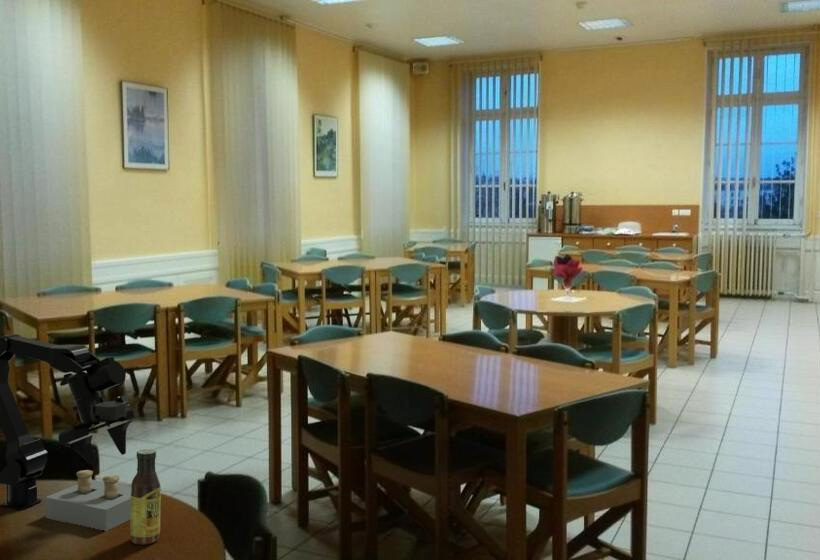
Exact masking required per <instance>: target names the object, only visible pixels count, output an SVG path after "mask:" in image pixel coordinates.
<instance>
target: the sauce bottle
mask: <svg viewBox="0 0 820 560" xmlns="http://www.w3.org/2000/svg"><path fill="white" fill-rule="evenodd" d="M156 459H157V451H156V450H155V449H152V448H146V449H140V450H138V451H136V460H137V466H136V467H137V468H136V471H137V472H136V474H135V476H134V477H133V479H132V481H131V486H130V487H131V511H130V520H129V521H130V523H129V524H130V525H129V535H130V541H131V543H133V544H135V545H140V546H144V545H150V544H153V543H156V542H157V541H158V540H159V538H160V533H161V503H162V502H161V499H162V498H161V495H162V494H161V491H162V486H161V483H160V480H159V477H158V474H157V471H156Z"/></svg>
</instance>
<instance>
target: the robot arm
mask: <svg viewBox="0 0 820 560" xmlns="http://www.w3.org/2000/svg"><path fill="white" fill-rule="evenodd" d="M16 355H17V356H20V357H24V358H30V359H33V360H35V361H36V360H37V361H41V362H44V363H47V364H48V365H49V366H50V367H51V368H52V369H54V370H57V371H59V372H60V373H64V374H63V378H62V379H61V381H60V383H59V386H60V387H64V386H67V385H68V388H69V390H70V392H71V393H70V394H71V396H72V398H73V401H74V404H75V406H72V410H73V412H76V411H77V412H78V415H79V418H80V421H81V423H78V425H75V426H73V427H70V428H68V429H65V430H63V431H61V432H59V433H58V436H57V438H58V442H59V444H60V446H62V445H65V444H66V445H65V447H66V448H68V447H69V448H70V449H72V450H73V451H74V452H75V453H77V455H79V456H80V457H82V459H84V461H86V462H87V463H88V464H89V466H91V467H92V468H96V467H98V461H97V458H96V454H95V453H94V449H93V445H92V440H93V435H90V433H91V432H93V431H97V430H99V429H102V428H104V427H108V428H107V429H106V431H107V433H108V435H109V437H110V438H111V440H112V441H113V443H114V445H115V447H116V448H117V450H118V452H119V453H120V454H121V455H122V456H124V455H126V453H127V430H128V427H129V425H130V424H131V423H133V421H132V419H133V418H135V414H134V411H133V409H131V405H130V401H129V399H128V396H127V395H121V396H117V397H116V399H115V400H112V401H109V400H108V398H107V396H105V395H102V394H101V393H100V392H104V391H107V390H110V389H111V388H114V387H116V386H119V385H122V384H123V383H124V382H125V381H126V377H127V375H126V374H127V373H126V369H125V368H124V367H123V365H122V364H121V363H120V362H118V361H116V360H115V358H114V356H113V355H112V356H111V355H110V356H108V357H105V358H103V359H100V358H99V357H97V356H96V355H95V354H93V353H92V352H90V350H89V348H88V347H87V346H86V345H84V344H55V343H50V342H47V341H42V340H38V339H34V338H29V337H25V336H22V335H20V334H18V333H12V334H7V335H5V334H4V335H2V336H0V428H1V431H2V433H3V435H4V438H5V440H6V443H7V445H6V450H5V451H6V452H5V461H6V466H5V467H4V468H3V469H2V470H1V471H0V484H2V485H6V501H5V502H2V503H0V504H1V506H2V507H6V508H10V509H15V510H24V509H27V508H29V507H30V506H33V505H36V504H39V503H41V502H42V499H41V498H38V485H37V478H36V477H39V476H42V475H43V471H44V468H45V467H46V465H47V462H48V456H47V454H48V451H47V450H46V449H45V446H44V443H43V442H44V441H43V440H42V439H41V438H37V439H35V438H33V437H32V436H31V435H30V434H29V431H28V429H27V427H26V424H25V422H24V419H23V416H22V414H21V411H20V409H19V407H18V405H17V401H16V399H15V396H14V394H13V391H12V389H11V386H10V384H9V376H10V375H9V374H10V369H11V368H10V364H9V362H10V361H12V359H14V358H15V356H16ZM109 427H110V428H109ZM68 443H69V444H68Z"/></svg>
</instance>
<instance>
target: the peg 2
mask: <svg viewBox="0 0 820 560" xmlns="http://www.w3.org/2000/svg"><path fill="white" fill-rule="evenodd" d="M119 480H120V475H117V474H110V475H105V476H104V477H102V481H103V482H104V499H107V500H114V499H116V498H118V484H119Z"/></svg>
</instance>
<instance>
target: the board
mask: <svg viewBox="0 0 820 560" xmlns="http://www.w3.org/2000/svg"><path fill="white" fill-rule="evenodd" d="M130 511H131V486H128V485H124V484H119V483H118V498H116V499H114V500H107V499H104V481H103V480H102V481H101V480H99V479H92V492H91V493H89V494H86V495H83V494H78V483H77V484H75V485H73V486H70V487H68V488H65V489H62V490H60V491H58V492H55V493H52V494H50V495H47V496H46V497H45V519H50V520H53V521H58V522H63V523H66V522H69V523H68V524H71V523H73V524H72V525H75V524H78V525H77V526H80V525H82V526H81V527H84V526H86V527H85V528H89V527H91V528H90V529H93V528H95V530H98V529H99V531H102V530H104V531H103V532H108V531H110V530H112V529H114V528H116V527H118V526H119V525H122V524H124V523H126V522H128V521H130ZM109 529H110V530H109Z"/></svg>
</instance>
